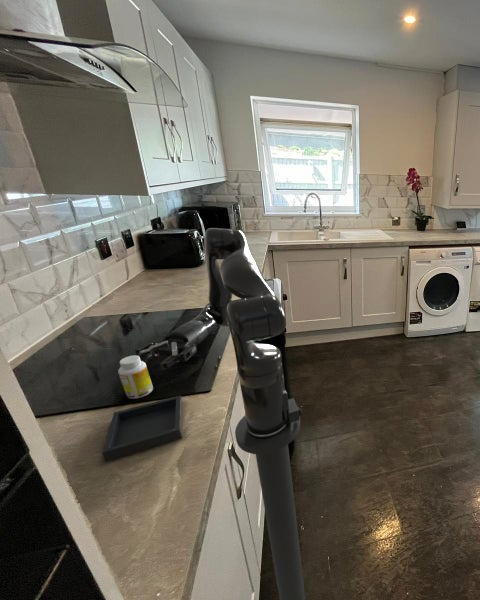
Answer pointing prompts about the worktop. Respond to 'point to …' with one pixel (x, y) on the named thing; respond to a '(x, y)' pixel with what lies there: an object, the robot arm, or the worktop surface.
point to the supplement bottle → (135, 377)
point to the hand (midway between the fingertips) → (146, 365)
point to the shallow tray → (144, 428)
